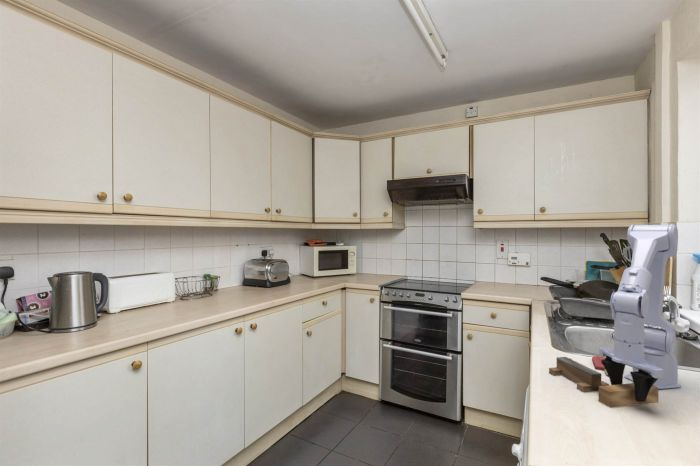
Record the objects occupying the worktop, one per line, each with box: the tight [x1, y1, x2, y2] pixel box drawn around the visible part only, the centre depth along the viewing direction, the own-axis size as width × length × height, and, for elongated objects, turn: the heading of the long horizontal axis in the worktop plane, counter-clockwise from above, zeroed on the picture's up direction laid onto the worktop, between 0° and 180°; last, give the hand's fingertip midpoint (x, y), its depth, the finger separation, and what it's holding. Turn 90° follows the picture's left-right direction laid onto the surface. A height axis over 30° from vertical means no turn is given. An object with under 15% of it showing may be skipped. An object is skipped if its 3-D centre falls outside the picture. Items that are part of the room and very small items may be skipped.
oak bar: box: [598, 382, 660, 408], centre depth 83 cm, size 14×3×4 cm, turn 99°
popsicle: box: [591, 355, 609, 377], centre depth 104 cm, size 5×2×15 cm
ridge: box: [548, 356, 611, 393], centre depth 94 cm, size 8×12×4 cm, turn 9°
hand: (628, 394), depth 83 cm, fingers open, 5 cm apart
